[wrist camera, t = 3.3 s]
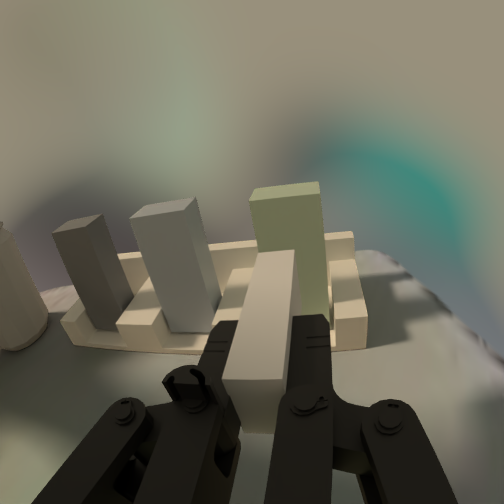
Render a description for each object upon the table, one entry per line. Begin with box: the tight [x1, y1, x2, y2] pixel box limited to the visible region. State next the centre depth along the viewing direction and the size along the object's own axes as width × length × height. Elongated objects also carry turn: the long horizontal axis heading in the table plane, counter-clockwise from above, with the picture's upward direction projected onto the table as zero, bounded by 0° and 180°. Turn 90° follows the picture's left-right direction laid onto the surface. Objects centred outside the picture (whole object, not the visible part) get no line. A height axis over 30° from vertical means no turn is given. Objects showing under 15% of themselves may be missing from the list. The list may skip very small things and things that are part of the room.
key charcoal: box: [52, 214, 134, 330], centre depth 30 cm, size 3×5×12 cm, turn 81°
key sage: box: [249, 182, 330, 323], centre depth 26 cm, size 3×5×12 cm, turn 81°
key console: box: [60, 231, 368, 355], centre depth 31 cm, size 10×31×6 cm, turn 81°
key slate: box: [129, 197, 222, 332], centre depth 28 cm, size 3×5×12 cm, turn 81°
